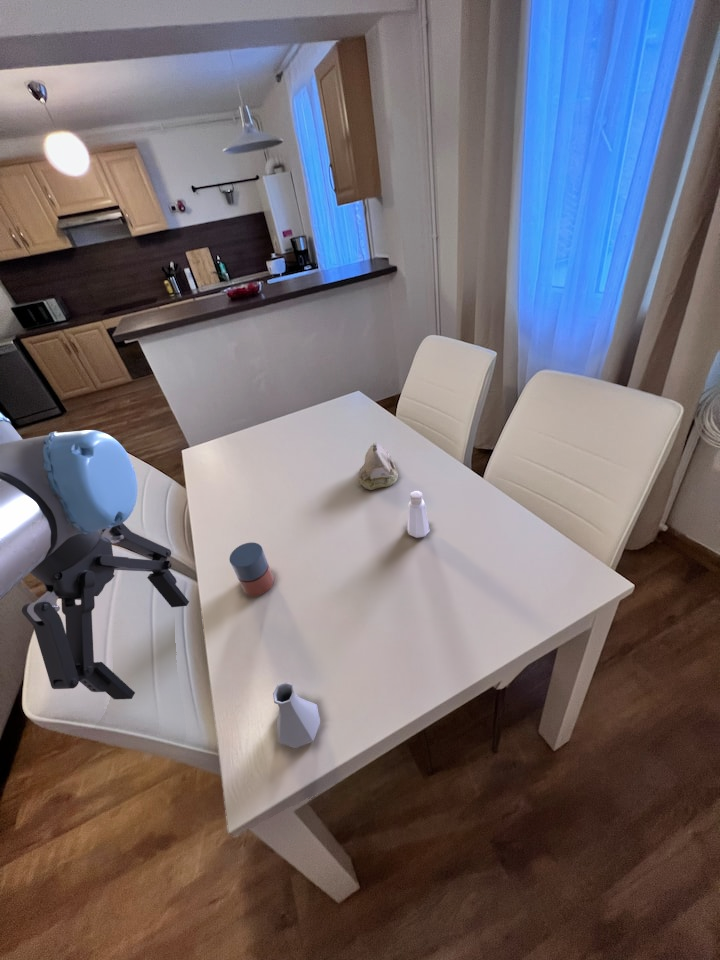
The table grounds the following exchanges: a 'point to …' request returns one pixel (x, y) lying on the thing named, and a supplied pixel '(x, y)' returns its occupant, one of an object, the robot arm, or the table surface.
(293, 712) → the flask
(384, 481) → the ceramic model
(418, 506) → the pepper shaker
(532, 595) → the table surface
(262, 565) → the cup stack
